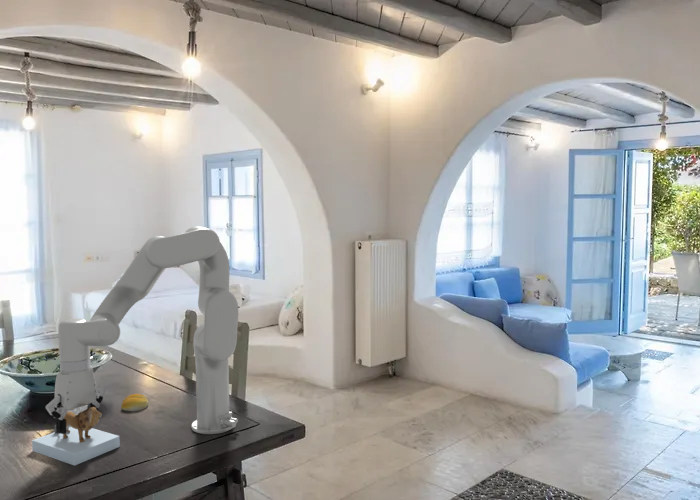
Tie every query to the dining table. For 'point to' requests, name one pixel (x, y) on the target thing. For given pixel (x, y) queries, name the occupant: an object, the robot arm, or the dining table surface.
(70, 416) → the lion figurine
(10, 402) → the dining table surface
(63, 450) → the plinth
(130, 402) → the bread roll
